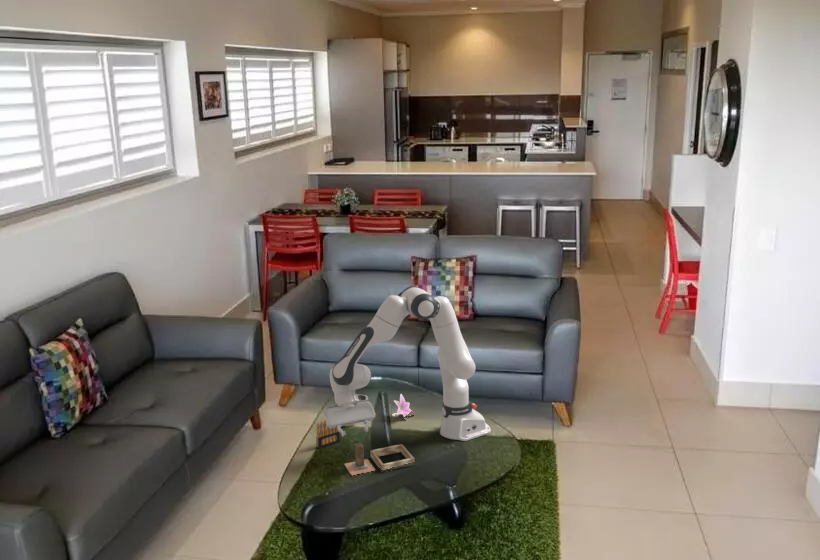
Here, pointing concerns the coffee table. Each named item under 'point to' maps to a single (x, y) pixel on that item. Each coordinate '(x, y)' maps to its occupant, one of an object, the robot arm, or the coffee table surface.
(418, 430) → the coffee table surface
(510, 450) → the coffee table surface
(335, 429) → the ammunition clip
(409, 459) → the frame
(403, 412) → the lily
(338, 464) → the coffee table surface
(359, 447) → the wooden post
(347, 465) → the terracotta tile
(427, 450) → the coffee table surface
